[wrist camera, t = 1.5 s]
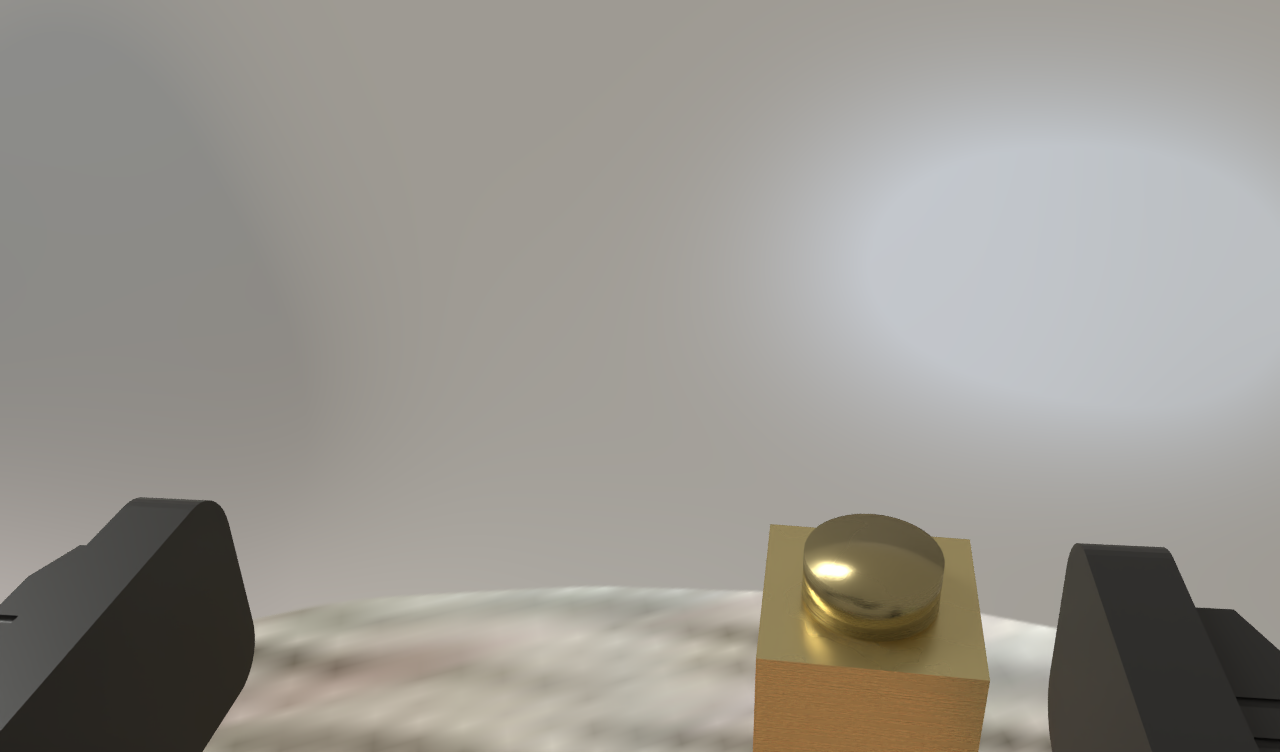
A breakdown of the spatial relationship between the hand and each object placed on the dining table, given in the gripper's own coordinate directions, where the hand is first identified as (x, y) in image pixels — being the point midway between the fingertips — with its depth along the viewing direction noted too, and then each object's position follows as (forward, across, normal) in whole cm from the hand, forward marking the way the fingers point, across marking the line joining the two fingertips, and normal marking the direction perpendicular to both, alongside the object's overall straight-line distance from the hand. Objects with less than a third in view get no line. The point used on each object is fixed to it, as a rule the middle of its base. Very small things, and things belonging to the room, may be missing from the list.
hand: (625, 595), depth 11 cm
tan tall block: (+14, -3, +26) cm, 30 cm away
